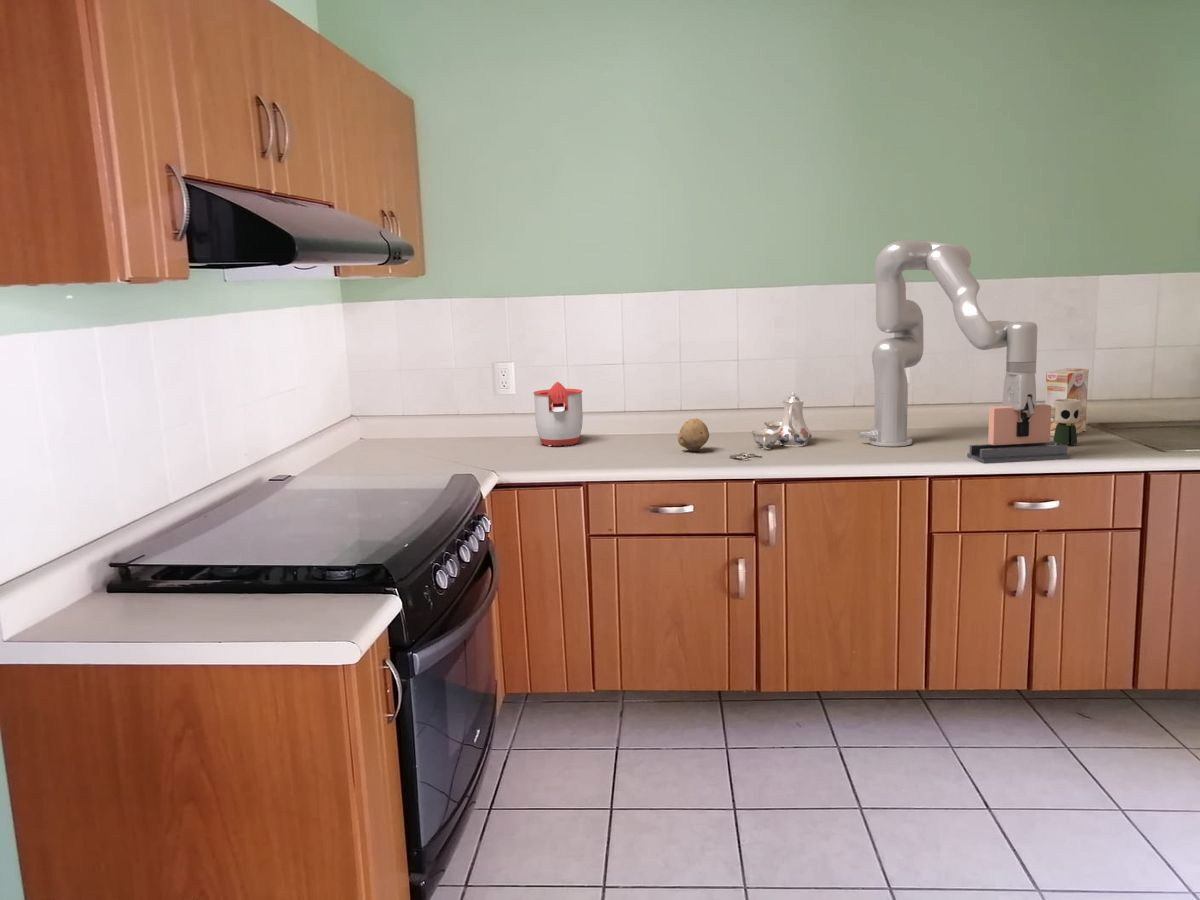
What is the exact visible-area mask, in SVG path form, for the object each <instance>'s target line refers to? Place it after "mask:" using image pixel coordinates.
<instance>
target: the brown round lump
mask: <svg viewBox="0 0 1200 900" xmlns="http://www.w3.org/2000/svg"><path fill="white" fill-rule="evenodd" d="M709 437H710V433H709V429H708V426H707V425H706V424H705V422H703V420H701V419H698V418H690V419H688V420H686V421H685V422H684V423H683V424H682V426H681V428H680V431H679V433H678V435H677V442H678V444H679V445H680V446H681V447H683V448H685V449H686V450H688V451H690V452H693V453H695V452H698V451H699V450H700V449H702V447H704V446H705V445H706V444H707V442H708V441H709Z"/></svg>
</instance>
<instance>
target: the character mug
mask: <svg viewBox="0 0 1200 900" xmlns="http://www.w3.org/2000/svg"><path fill="white" fill-rule="evenodd" d="M1080 405H1081V401H1080V400H1076V399H1056V400H1054V403H1053V407H1051V410H1053V415H1051V418H1053V421H1054V422H1057V423H1058V424H1057V426H1056V429H1055V434H1054V436H1053V440H1052V441H1055V444H1056V445H1059V444H1061V445H1069V444H1071V445H1077V444H1078V435H1077V433H1076V427H1075V425H1074V423H1077V422H1079V420H1080V417H1085V412H1086V413H1087V409H1086V407H1085V406H1080ZM1080 409H1082V414H1080Z"/></svg>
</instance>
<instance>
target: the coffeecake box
mask: <svg viewBox="0 0 1200 900" xmlns="http://www.w3.org/2000/svg"><path fill="white" fill-rule="evenodd" d="M1089 370H1090V369H1088V368H1078V367H1077V368H1075V367H1074V368H1073V367H1067V368H1062V369H1058V370H1057V369H1056V370H1052V371H1047V372H1045V373H1046V376H1045V397H1044V400H1045V401H1044V404H1046V405H1051V407H1053V403H1054V400H1056V399H1076V400H1080V401H1081V405H1080V406H1085V407H1086V410H1087V409H1088V408H1087V407H1088V389H1089ZM1080 414H1082V409H1080ZM1051 415H1053V410H1051ZM1057 424H1058V423H1057V422H1054V421H1053V418H1051V429H1050V437H1054V434H1055V429H1056V426H1057ZM1074 425H1075V427H1076V433H1078V434H1081V433H1083V432H1082V431H1085V432H1086V430H1087V429H1086V426H1087V411H1086V412H1085V417H1080V420H1079V422H1077V423H1074ZM1080 432H1081V433H1080Z"/></svg>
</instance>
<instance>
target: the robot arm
mask: <svg viewBox="0 0 1200 900" xmlns="http://www.w3.org/2000/svg"><path fill="white" fill-rule="evenodd" d="M971 262H972V256H971V253H970V252H969V250H968V249H967V248H966V247H964V246H963V245H959V244H953V243H952V244H951V243H944V242H938V241H931V240H919V239H918V240H917V239H916V240H915V239H914V240H913V239H912V240H911V239H908V240H907V239H905V240H904V239H903V240H897V241H894V242H890V243H889V244H888V245H886V246H884V248H882V250H881V251H880V252H879V253H878V254H877V256H876V260H875V263H874V264H875V265H874V278H875V322H876V326H877V328H878V329H879V330H880V331H881V332H883V333H885V334H893V337H888V338H885V339H884V338H883V339H881V340H879V342H877V343H876V344H875V346H874V347H873V349H872V351H871V352H872V353H871V363H872V367H873V368H872V369H873V374H874V375H873V376H874V379H873V380H874V414H873V415H874V416H873V417H874V418H873V419H874V422H873V423H874V425H873V426H874V427H871V428H870V430H868V431H858V433H857V437H858V438H859V439H862V438H863V439H864V438H865V439H868V444H870V445H872V446H878V447H904V446H910V445H912V444H913V439H912V438H910V437H908V398H909V394H908V393H909V391H908V390H909V389H908V387H909V384H908V383H909V382H908V377H907V374H906V370H905V369H908V368H911V367H915V366H916V365H918V363H920V361H921V360H922V358H923V355H924V314H923V311H922V309H921V307H920V305H919V304H918V303H916V302H915V301H914V300H910V299H907V285H906V280H905V278H904V276H903V272H904V271H918V270H922V271H929V272H930V273H931V274H932V276H933V277H934V278H935V280H936V282H937V283H938V284H939V285H940V287H941V288H942V290H943V291H944V293H945V294H946V296H947V297H948V298H949V300H950V302H951V303H952V310H953V315H954V318H955V321H956V323H957V325H958V328H959V329H960V331H961V332H962V333H963V335H964V337H966V339H967V341H969V343H970V344H971V345H972V347H974V348H976V349H978V350H981V351H982V350H983V351H989V350H992V349H993V350H996V349H1001V348H1006V357H1005V359H1006V360H1005V363H1006V364H1005V366H1006V367H1005V375H1004V376H1005V377H1004V382H1003V393H1002V407H1004V406H1008V407H1012V408H1013V410H1014V411H1018V421H1019V422H1017V434H1016V436H1017V437H1026V436H1029V422H1030V417H1031V416H1032V415H1033V414H1034V409H1035V407H1036V405H1037V384H1036V383H1037V382H1036V374H1037V357H1038V354H1037V353H1038V352H1037V351H1038V325H1037V323H1036V322H1033V321H1008V320H990V321H989V320H988V319H987V318H986V317H985V315H984V313H983V312H982V311H981V309H980V307H979V305H978V302H977V301H978V300H977V296H978V293H979V290H980V287H981V286H980V283H979V281H977V279H976V277H975V276H974V275H973V273H972V272H971V271H970V269H969V268H970V267H971ZM1024 408H1027V410H1022V409H1024ZM1022 413H1024V414H1023V415H1022Z"/></svg>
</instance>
